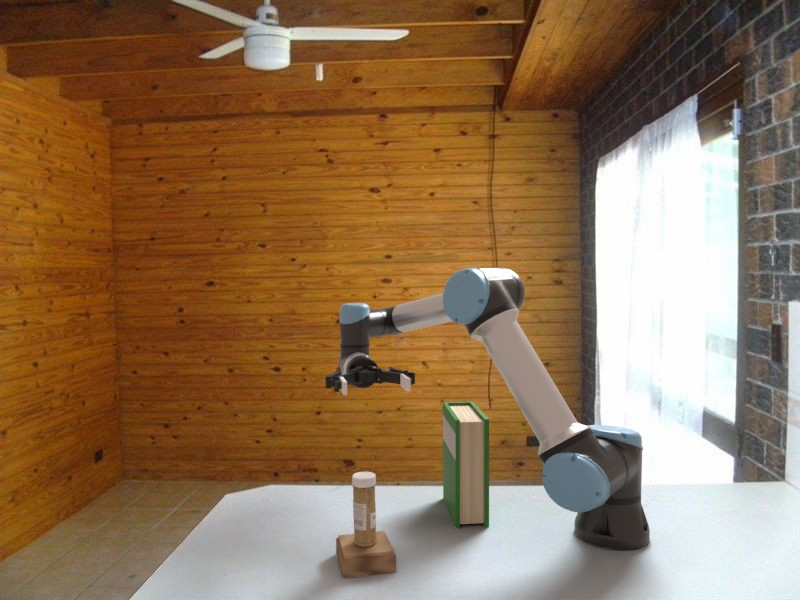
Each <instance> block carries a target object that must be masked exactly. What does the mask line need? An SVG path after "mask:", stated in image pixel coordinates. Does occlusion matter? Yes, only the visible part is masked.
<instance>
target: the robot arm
mask: <svg viewBox="0 0 800 600" xmlns="http://www.w3.org/2000/svg"><path fill="white" fill-rule="evenodd" d="M443 289H444V290H443V292H442V293H438V294H435V295H431V296H425V297H423V298H419V299H414V300H411V301H408V302H404V303H401V304H397V305H392V306H388V307H385V308H384V307H383V308H375V309H373V308H372V309H370V306H369V304H367V303H366V302H363V303H362V302H353V303H351V302H350V303H349V302H348V303H343V304H342V305H341V306H340V308H339V319H338V320H339V321H338V322H339V339H340V341H339V342H340V346H339V352H340V353H339V357H338V367H339V369H336V370H335V371H334V372H332V373H330V374H327V375H326V376H325V383H324V384H325V389H332V388H333V392H335V393H339V392H341V393H342V394H343V396H347V395H348V386H350V385H351V386H354V387H355V388H358V389H359V388H360V389H367V388H369V387H372V386H373V385H374V384H378V385H379V384H380V385H381V384H384V383H385V384H386V383H387V384H388V383H389V384H396V385H400V387H401V388H402V389H403V390H404V391H406V392H407V393H408V392H411V389H412V388H411V386H413V385H416V373H415V372H413V371H409V369H407V370H402V369H397V368H395V367H391V366H390V367H388V368H387V370H386V369H385V368H382V367H379V366H378V364H377V363H376V362H375V360H374V359H373V358H372V357H371V356H370V339H373V338H379V337H388V336H389V337H391V336H397V335H398V336H399V335H401V334H403V333H406V332H411V331H416V330H420V329H424V328H429V327H433V326H437V325H438V326H439V325H443V324H446V323H451V322H454V323H457V324H459V325H460V326H461V325H464V327H465V329H466V330H467V332H468V334H469V336H470V338H471V339H473V340H476V341H479V342H481V343H482V345H483V346H484V348H485V349H486V351H487V353H488V355H489V357H490V358H491V360H492V362H493V364H494V366H495V367H496V369H497V371H498V372H499V374H500V376H501V377H502V380H503V381H504V382H505V384H506V387H507V388H508V390H509V391H510V393H511V395H512V396H513V398H514V400H515V403H517V406H518V407H519V409H520V411H521V412H522V415H523V416H524V418H525V419H526V421H527V423H528V424H529V426H530V428H531V430H532V432H533V433H534V436H535V437H536V439H537V441H538V442H539V447H538V451H537V455H538V457H539V459H540V461H541V463H542V465H543V468H542V475H541V480H542V486H543V488H544V490H545V492H546V494H547V495H548V497H549V499H551V501H553V502H554V503H555V504H556V505H557V506H559V507H561V508H562V509H563V510H567V511H569V512H571V513H573V512H574V513H576V516H575V519H574V534H575V535H576V537H577V538H578V539H580V540H581V541H582V542H584V543H587V544H589V545H592V546H594V547H599V548H602V549H607V550H614V551H615V550H616V551H631V550H638V549H641V548H643V547H645V546H646V547H647V545H648V544H649V543H650V539H651V538H650V537H651V536H650V534H651V533H650V526H649V523H648V519H647V517H646V516H647V515H646V513H645V510H644V507H643V504H642V478H643V477H642V475H643V474H642V473H643V450H644V447H643V441H642V439H643V438H642V435H641V434H640V432H638V431H636V430H633V429H631V428H626V427H620V426H613V425H607V424H606V425H604V424H591V425H590V424H589V425H586V424H582V423H580V422H579V421H577V418H576V417H575V416H574V414H573V412H572V411H571V409H570V407H569V406H568V404H567V402H566V400H565V399H564V397H563V396H562V394H561V392H560V390H559V388H558V387H557V386H556V384H555V382H554V380H553V379H552V377H551V375H550V374H549V372H548V370H547V369H546V367H545V365H544V364H543V362H542V360H541V359H540V357H539V356H538V354H537V352H536V351H535V349H534V347H533V345H532V344H531V342H530V341H529V339H528V337H527V334H525V332H524V331H523V329H522V327H521V325H520V323H519V322H518V318H519V314H520V309H521V308H522V306H523V304H524V302H525V299H526V287H525V284H524V282H523V280H522V278H521V276H519V275H518V273H516V272H514V271H513V270H511V269H509V268H506V267H500V266H499V267H476V266H472V267H467V268H462V269H459V270H457V271H456V272H454V273H452V275H451V276H450V277H449V278H448V279H447V281H446V283H445V285H444V287H443Z"/></svg>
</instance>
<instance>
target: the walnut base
mask: <svg viewBox="0 0 800 600" xmlns="http://www.w3.org/2000/svg"><path fill="white" fill-rule="evenodd" d="M376 538H377V542H376V543H375V544H374V545H372V546H369V547H360V546H357V545H355V544H354V533H350V534H341V535H338V536H337V537H336V538H335V542H336V543H335V546H336V547H335V552H336V553H335V554H336V558H337V561H338V564H339V568H340V572H341V577H342V579H343V580H344V579H350V578H358V577H367V576H368V577H369V576H376V575H386V574H392V573H393V574H394V573H397V553H396V552H395V550H394V547H393V545H392V543H391V542H390V539H389V538H388V536H387V533H386V532H385V531H384V530H380V531H377V530H376Z"/></svg>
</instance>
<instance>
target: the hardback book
mask: <svg viewBox="0 0 800 600" xmlns="http://www.w3.org/2000/svg"><path fill="white" fill-rule="evenodd" d="M442 462H443V463H442V477H443V478H442V481H443V483H442V487H443V488H442V493H443V495H442V500H443V502H444V503H445V506H446V508H448V509H447V511H448V513H450V514H449V516H450V515H451V516H450V518H451V521H452V520H453V521H452V523H453V522H454V523H453V525H455V526H454V528H455V527H456V528H458V529H461V525H468V524H469V525H471V524H472V525H473V524H482V525H483V524H484V525H483V526H484V528H489V527H490V418H489V417H488V416H487V415H486V414H485V413H484V412H483V411H482V410H481V408H480V407H478V405H477V404H476V403H475V401H448V402H447V401H446V402H444V401H442ZM456 528H455V529H456Z"/></svg>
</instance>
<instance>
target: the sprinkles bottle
mask: <svg viewBox="0 0 800 600" xmlns="http://www.w3.org/2000/svg"><path fill="white" fill-rule="evenodd" d="M351 480H352V481H351V484H352V488H353V489H352V492H353V493H352V495H353V499H352V503H353V504H352V508H353V509H352V514H353V531H354V532H353V534H354V544H355V545H357V546H360V547H369V546H372V545H374V544H375V543H376V542H377V538H376V532H377V517H376V516H377V514H376V513H377V512H376V511H377V509H376V507H377V506H376V484H377V475H376V473H374V472H372V471H358V472H355V473H353V474H352V477H351Z"/></svg>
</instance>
